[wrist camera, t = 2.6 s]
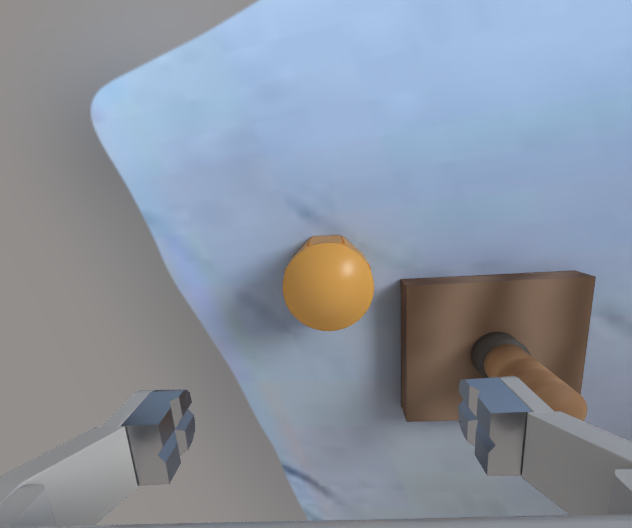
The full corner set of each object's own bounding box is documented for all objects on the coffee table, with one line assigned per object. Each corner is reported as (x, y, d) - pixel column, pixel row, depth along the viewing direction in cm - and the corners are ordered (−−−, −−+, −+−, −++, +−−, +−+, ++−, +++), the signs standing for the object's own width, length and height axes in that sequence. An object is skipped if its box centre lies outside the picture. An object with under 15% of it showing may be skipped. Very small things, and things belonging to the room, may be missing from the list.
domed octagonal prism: (364, 232, 25) (372, 240, 20) (366, 304, 27) (374, 329, 22) (288, 236, 26) (278, 245, 21) (294, 308, 27) (286, 332, 22)
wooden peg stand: (574, 270, 25) (706, 309, 17) (560, 401, 28) (667, 496, 19) (400, 279, 26) (437, 321, 17) (401, 406, 29) (434, 499, 20)
